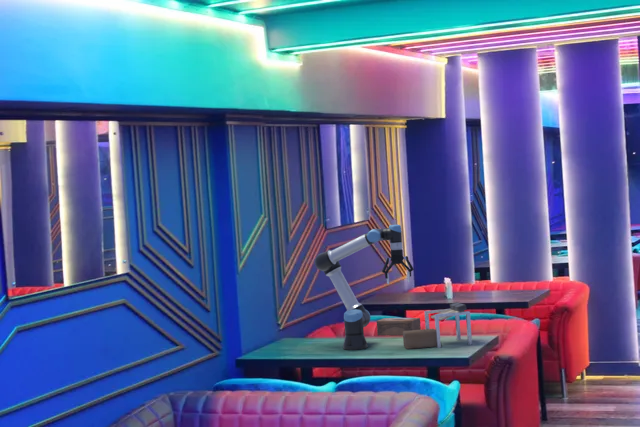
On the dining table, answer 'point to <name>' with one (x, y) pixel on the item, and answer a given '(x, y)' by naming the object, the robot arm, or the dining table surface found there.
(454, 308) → the trapdoor
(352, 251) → the robot arm
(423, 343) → the block
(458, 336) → the frame
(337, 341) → the dining table surface
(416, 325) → the tissue box cover
